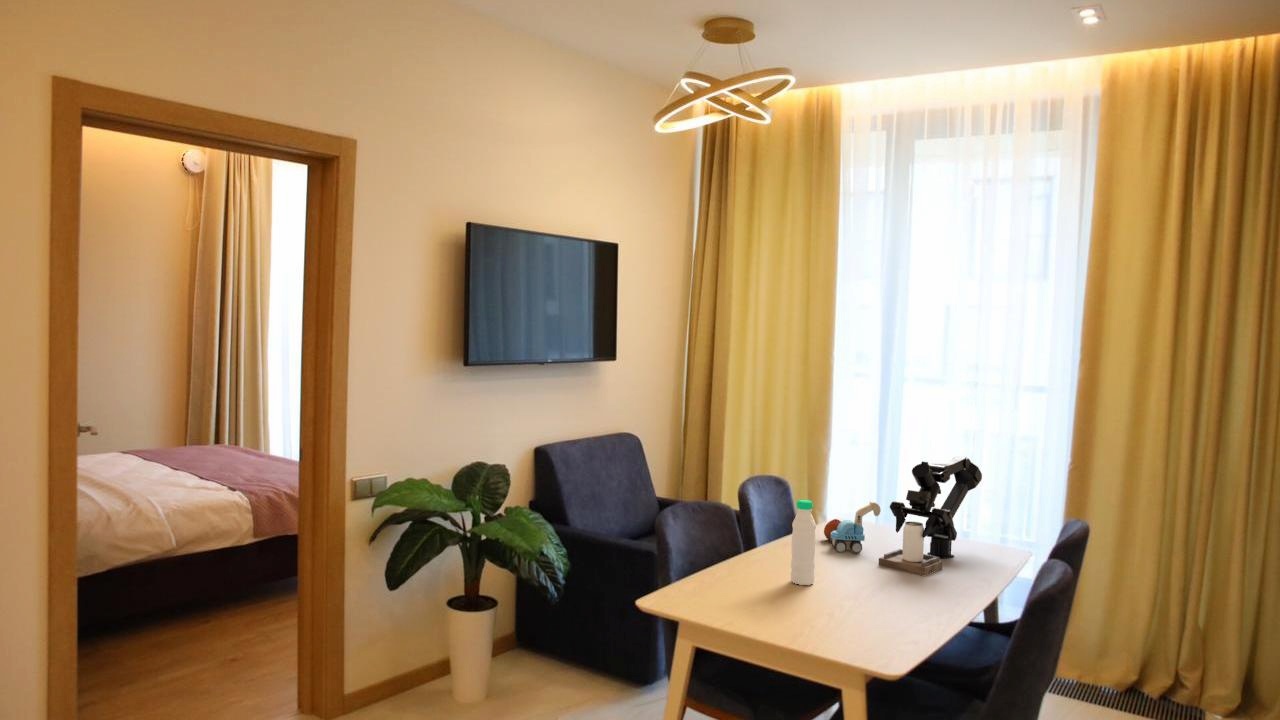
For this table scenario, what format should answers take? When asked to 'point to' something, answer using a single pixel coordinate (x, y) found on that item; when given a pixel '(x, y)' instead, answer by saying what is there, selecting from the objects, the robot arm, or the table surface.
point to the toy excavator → (852, 531)
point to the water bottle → (803, 545)
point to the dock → (910, 563)
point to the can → (913, 542)
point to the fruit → (831, 528)
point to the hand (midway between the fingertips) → (909, 534)
